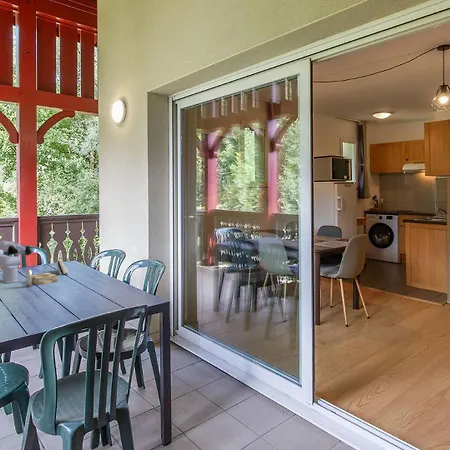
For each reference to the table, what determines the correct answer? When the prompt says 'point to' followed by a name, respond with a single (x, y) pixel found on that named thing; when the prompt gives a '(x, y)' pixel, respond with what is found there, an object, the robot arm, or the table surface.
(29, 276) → the peg
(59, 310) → the table surface
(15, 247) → the robot arm
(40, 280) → the knuckle block
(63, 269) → the grey stapler
